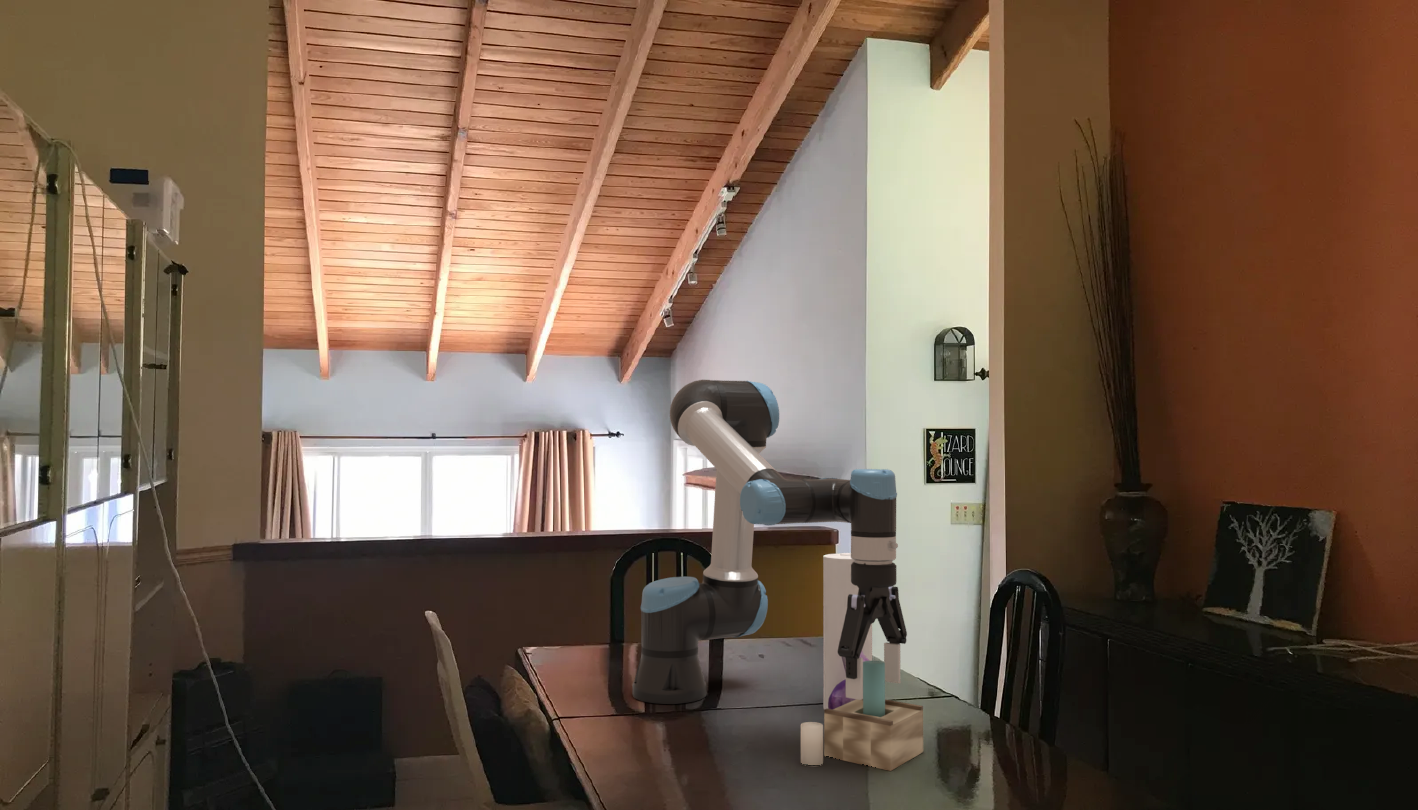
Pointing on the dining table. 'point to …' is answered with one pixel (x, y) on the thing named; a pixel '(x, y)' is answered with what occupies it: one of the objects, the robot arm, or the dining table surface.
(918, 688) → the dining table surface
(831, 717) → the socket block
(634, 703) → the dining table surface
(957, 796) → the dining table surface
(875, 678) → the teal peg
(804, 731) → the cream peg
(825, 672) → the cylinder container
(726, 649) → the dining table surface
